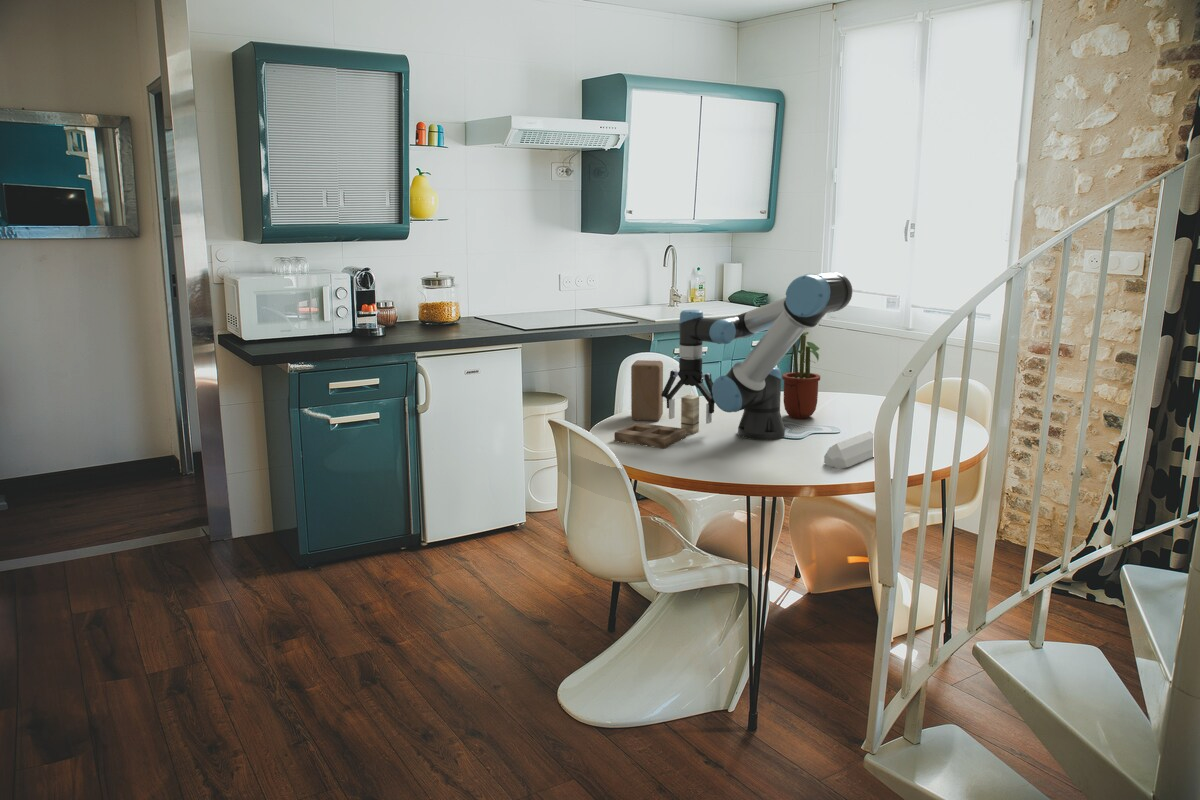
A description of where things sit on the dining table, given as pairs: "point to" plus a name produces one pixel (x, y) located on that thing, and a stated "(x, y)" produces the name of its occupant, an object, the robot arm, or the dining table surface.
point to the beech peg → (690, 413)
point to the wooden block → (646, 390)
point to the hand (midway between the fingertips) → (690, 420)
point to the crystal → (850, 451)
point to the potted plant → (801, 383)
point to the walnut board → (650, 435)
